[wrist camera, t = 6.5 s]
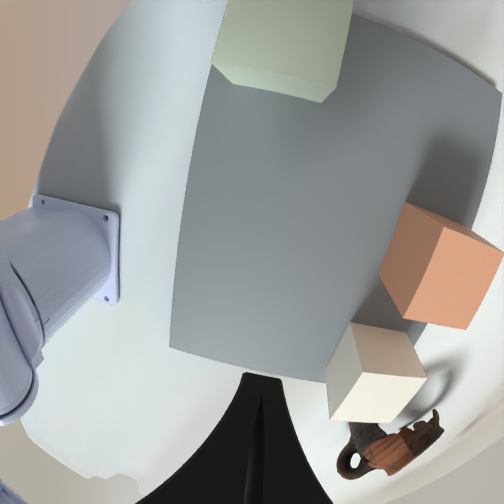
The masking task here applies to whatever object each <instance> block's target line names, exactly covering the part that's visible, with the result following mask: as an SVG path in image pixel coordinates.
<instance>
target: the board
mask: <svg viewBox="0 0 504 504" xmlns="http://www.w3.org/2000/svg"><path fill="white" fill-rule="evenodd" d="M501 100H502V93H501V92H500V91H498V90H497V89H496V88H494V87H493V86H492V85H490V84H489V83H488V82H486V81H485V80H483V79H482V78H481V77H479V76H478V75H476V74H475V73H473V72H472V71H470V70H469V69H467V68H466V67H464V66H462V65H461V64H459V63H458V62H456V61H454V60H453V59H451V58H449V57H447V56H446V55H444V54H442V53H440V52H439V51H437V50H435V49H433V48H431V47H429V46H427V45H425V44H423V43H421V42H419V41H417V40H415V39H413V38H411V37H409V36H407V35H405V34H402V33H400V32H398V31H395V30H393V29H391V28H388V27H386V26H383V25H381V24H378V23H376V22H373V21H370V20H367V19H365V18H362V17H359V16H356V15H353V14H351V20H350V25H349V30H348V35H347V40H346V45H345V50H344V55H343V59H342V64H341V69H340V73H339V78H338V82H337V87H336V89H335V90H334V91H333V92H332V93H331V94H330V95H329V96H328V97H327V98H326V99H325V100H324V101H323V102H322V103H318V102H315V101H311V100H307V99H304V98H300V97H296V96H291V95H287V94H283V93H278V92H274V91H269V90H264V89H259V88H253V87H248V86H242V85H236V84H232V83H231V82H230V81H229V80H228V79H227V78H226V77H225V76H224V75H223V74H222V73H221V72H220V71H219V70H218V69H217V68H216V67H215V66H214V65H213V64H212V65H211V69H210V73H209V77H208V81H207V85H206V89H205V94H204V98H203V102H202V107H201V112H200V116H199V121H198V126H197V131H196V136H195V141H194V146H193V151H192V157H191V162H190V168H189V174H188V180H187V186H186V192H185V199H184V205H183V212H182V219H181V227H180V234H179V242H178V251H177V259H176V269H175V279H174V289H173V301H172V313H171V327H170V344H169V347H171V348H174V349H177V350H180V351H184V352H187V353H190V354H194V355H197V356H201V357H204V358H208V359H212V360H215V361H219V362H223V363H227V364H231V365H235V366H239V367H243V368H248V369H252V370H256V371H261V372H266V373H271V374H275V375H281V376H286V377H291V378H297V379H302V380H308V381H314V382H321V383H326V377H325V369H326V367H327V365H328V363H329V362H330V360H331V358H332V356H333V354H334V352H335V350H336V348H337V346H338V344H339V342H340V340H341V338H342V336H343V334H344V332H345V330H346V328H347V326H348V324H349V322H352V323H357V324H363V325H368V326H373V327H378V328H384V329H389V330H395V331H400V332H406V333H407V335H408V337H409V339H410V341H411V343H412V345H413V347H414V345H415V344H416V342H417V340H418V339H419V337H420V335H421V334H422V332H423V330H424V329H425V327H426V325H427V323H426V322H420V321H415V320H410V319H405V318H403V317H402V316H401V314H400V312H399V310H398V308H397V306H396V305H395V303H394V301H393V299H392V297H391V296H390V294H389V292H388V290H387V289H386V287H385V285H384V283H383V282H382V280H381V278H380V277H379V275H378V273H379V271H380V268H381V266H382V263H383V261H384V258H385V256H386V253H387V251H388V248H389V246H390V243H391V240H392V238H393V235H394V232H395V229H396V227H397V224H398V221H399V218H400V215H401V212H402V209H403V206H404V203H405V202H407V203H410V204H412V205H415V206H418V207H420V208H423V209H426V210H428V211H431V212H433V213H436V214H438V215H440V216H443V217H445V218H448V219H450V220H452V221H455V222H457V223H459V224H462V225H463V226H465V227H467V228H468V229H470V230H471V229H472V226H473V223H474V220H475V217H476V214H477V211H478V208H479V205H480V202H481V199H482V195H483V192H484V188H485V185H486V181H487V177H488V173H489V169H490V165H491V161H492V156H493V152H494V147H495V141H496V136H497V130H498V124H499V117H500V109H501Z"/></svg>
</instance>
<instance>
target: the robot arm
mask: <svg viewBox="0 0 504 504" xmlns="http://www.w3.org/2000/svg"><path fill="white" fill-rule="evenodd" d="M44 201H45V203H44ZM106 215H107V216H108V220H107V219H106ZM118 233H119V217H118V215H117V213H115V212H112V211H108V210H104V209H100V208H96V207H91V206H87V205H83V204H79V203H74V202H70V201H66V200H62V199H57V198H53V197H49V196H44V195H40V194H37V195H34V197H33V207H31V208H28V209H26V210H24V211H21V212H19V213H17V214H15V215H12V216H10V217H8V218H6V219H4V220H1V221H0V426H3V425H7V424H10V423H12V422H14V421H16V420H18V419H19V418H21V417H22V416H23V415H24V414H25V413H26V412H27V411H28V410H29V408H30V407H31V406H32V404H33V402H34V400H35V398H36V395H37V392H38V376H37V373H36V370H35V369H36V368H37V367H38V366H39V365H40V363H41V362H42V361H43V360H44V358H43V355H42V352H41V349H42V347H43V346H44V345H45V344H46V343H47V342H48V341H49V340H50V339H51V338H52V337H53V336H54V335H55V334H56V333H57V332H58V331H59V330H60V328H61V327H62V326H63V325H64V324H65V323H66V322H67V321H68V320H69V319H70V318H71V317H72V316H73V315H74V314H75V313H76V312H77V311H78V310H79V309H80V308H81V307H82V306H83V305H84V304H85V303H86V302H88V301H89V300H90V299H91V298H94V299H97V300H99V301H102V302H105V303H107V304H110V305H113V306H115V305H116V304H117V303H118V302H119V295H118ZM107 297H108V298H109V299H108V298H107ZM0 504H29V503H28V502H27V501H25V500H24V499H23V498H22V497H21V496H20V495H19V494H18V493H17V492H15V491H14V490H13V489H11V488H10V487H9V486H8V485H7V484H5V483H4V482H3V481H2V480H0ZM135 504H333V502H332V501H331V499H330V498H329V497H328V495H327V494H326V492H325V491H324V489H323V488H322V486H321V484H320V483H319V481H318V479H317V478H316V476H315V474H314V472H313V470H312V468H311V467H310V465H309V463H308V461H307V458H306V456H305V454H304V452H303V449H302V447H301V445H300V442H299V440H298V437H297V435H296V432H295V429H294V426H293V423H292V420H291V417H290V414H289V411H288V407H287V403H286V399H285V395H284V390H283V385H282V381H281V380H280V379H279V378H273V377H268V376H263V375H258V374H253V373H248V372H245V373H243V374H242V378H241V381H240V385H239V387H238V390H237V392H236V394H235V396H234V398H233V400H232V402H231V403H230V405H229V407H228V408H227V410H226V412H225V414H224V415H223V417H222V418H221V420H220V421H219V423H218V424H217V425H216V427H215V428H214V430H213V431H212V432H211V434H210V435H209V436H208V438H207V439H206V440H205V441H204V443H203V444H202V445H201V446H200V447H199V449H198V450H197V451H196V452H195V453H194V454H193V455H192V456H191V457H190V458H189V459H188V460H187V461H186V462H185V463H184V464H183V465H182V466H181V467H180V468H179V469H178V470H177V471H176V472H175V473H174V474H173V475H172V476H171V477H170V478H168V479H167V480H166V481H165V482H164V483H162V484H161V485H160V486H159V487H158V488H156V489H155V490H154V491H153V492H151V493H150V494H148V495H147V496H146V497H144V498H143V499H141V500H140V501H138V502H137V503H135Z"/></svg>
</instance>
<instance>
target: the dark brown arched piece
mask: <svg viewBox="0 0 504 504" xmlns="http://www.w3.org/2000/svg"><path fill="white" fill-rule="evenodd" d="M432 412H433V418H431V419H430V420H429V422H428V423H426V422H425V421H419V422H416V423H414V425H413V428H414V431H413V430H412V429H409V428H407V427H403V428H402V430H401V431H400V432H399V433H398V434H396V433H393V434H389V435H387V434H386V432H384V431H383V430H382V429H381V428H380V427H379V426H378V423H366V422H349V426H350V432H351V437H350V440H349V442H348V444H347V445H346V446H345V447H344V448H343V450H342V451H341V453H340V454H339V456H338V459H337V465H336V466H337V472H338V473H339V474H340V475H341V476H342V477H343V478H345V479H348V480H353V479H357V478H360V477H362V476H363V475H365V474H366V473H368V472H370V471H372V470H375V469H383V470H385V471H386V473H387V474H388V476H391V475H393V474H395V473H397V472H398V471H400V470H401V469H402V468H403V467H405V466H406V465H407V464H409V463H410V462H411V461H413V460H414V459H415V458H416V457H418V456H419V455H420V454H422V453H423V452H424V451H425V450H426V449H427V448H429V447H430V446H431V445H432V444H433V443H434V442H435V441H436V440H437V439H438V438H439V437H440V436H441V435H442V433H443V432H444V429H443V428H441V427H440V426H439V414H438V412H437V410H436V409H433V411H432ZM354 453H358V454H359V455H360V457H361V460H360V463H359V465H358V467H357V468H352V467H351V465H350V461H351V458H352V456H353V454H354Z"/></svg>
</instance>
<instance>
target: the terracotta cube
mask: <svg viewBox="0 0 504 504" xmlns="http://www.w3.org/2000/svg"><path fill="white" fill-rule="evenodd" d="M503 255H504V252H502V251H501V250H499V249H498V248H497V247H495V246H494V245H492V244H491V243H489V242H488V241H486V240H485V239H484V238H482V237H481V236H479V235H477V234H476V233H474V232H473V231H471V230H470V229H468V228H467V227H465V226H463V225H462V224H459V223H457V222H455V221H452V220H450V219H448V218H445V217H443V216H440V215H438V214H436V213H433V212H431V211H428V210H426V209H423V208H420V207H418V206H415V205H412V204H410V203H407V202H405V203H404V206H403V209H402V212H401V215H400V218H399V221H398V224H397V227H396V229H395V232H394V235H393V238H392V240H391V243H390V246H389V248H388V251H387V253H386V256H385V258H384V261H383V263H382V266H381V268H380V271H379V273H378V275H379V277H380V278H381V280H382V282H383V283H384V285H385V287H386V289H387V290H388V292H389V294H390V296H391V297H392V299H393V301H394V303H395V305H396V306H397V308H398V310H399V312H400V314H401V316H402V317H403V318H405V319H410V320H415V321H420V322H426V323H431V324H436V325H442V326H447V327H453V328H458V329H464V330H466V329H467V327H468V326H469V324H470V322H471V321H472V319H473V317H474V315H475V314H476V312H477V310H478V308H479V306H480V304H481V303H482V301H483V299H484V297H485V295H486V293H487V291H488V289H489V287H490V285H491V283H492V280H493V278H494V276H495V274H496V272H497V269H498V267H499V265H500V263H501V260H502V258H503Z"/></svg>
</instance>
